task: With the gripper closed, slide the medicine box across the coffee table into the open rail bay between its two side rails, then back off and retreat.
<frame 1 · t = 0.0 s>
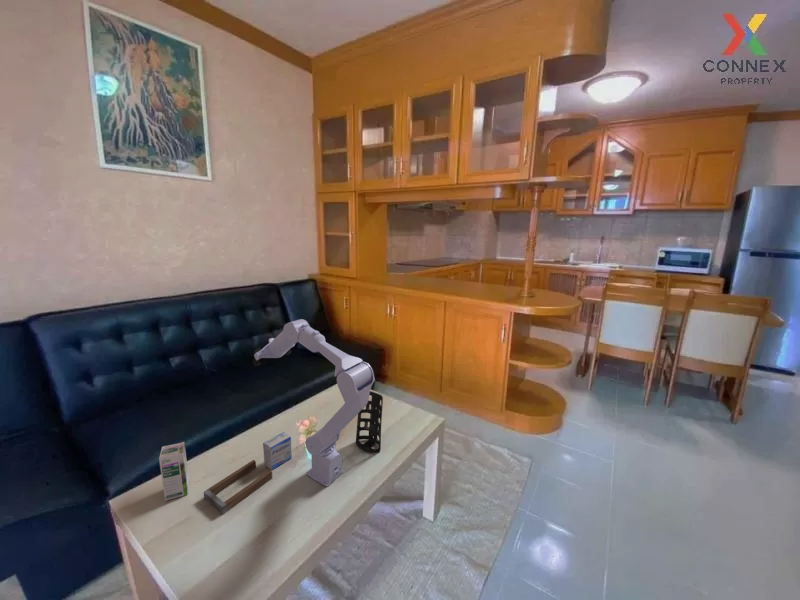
hand: (264, 360, 115), 32 cm above the table, tool tilted 50°, fingers open, 7 cm apart
holder: (369, 444, 123), on the table
medicine box: (278, 462, 113), on the table
open rail bay: (241, 487, 101), on the table
syrup box: (177, 491, 99), on the table
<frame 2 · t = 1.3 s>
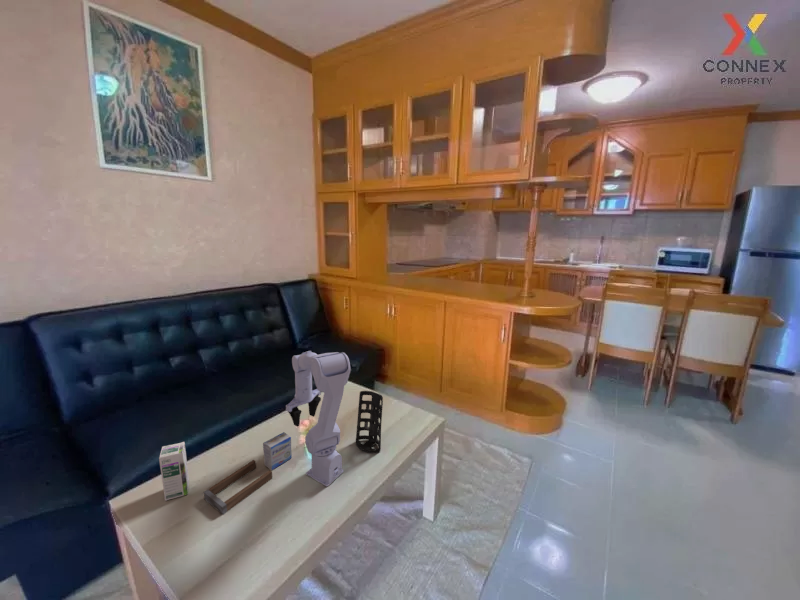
hand: (304, 420, 120), 9 cm above the table, tool pointing down, fingers open, 7 cm apart
nothing on the table moved.
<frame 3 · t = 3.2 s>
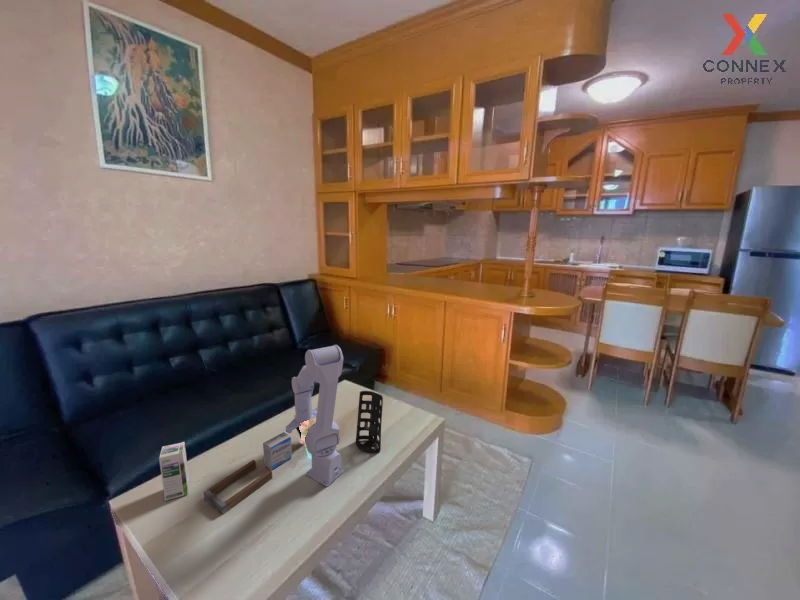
hand: (304, 440, 122), 1 cm above the table, tool pointing down, fingers closed
nothing on the table moved.
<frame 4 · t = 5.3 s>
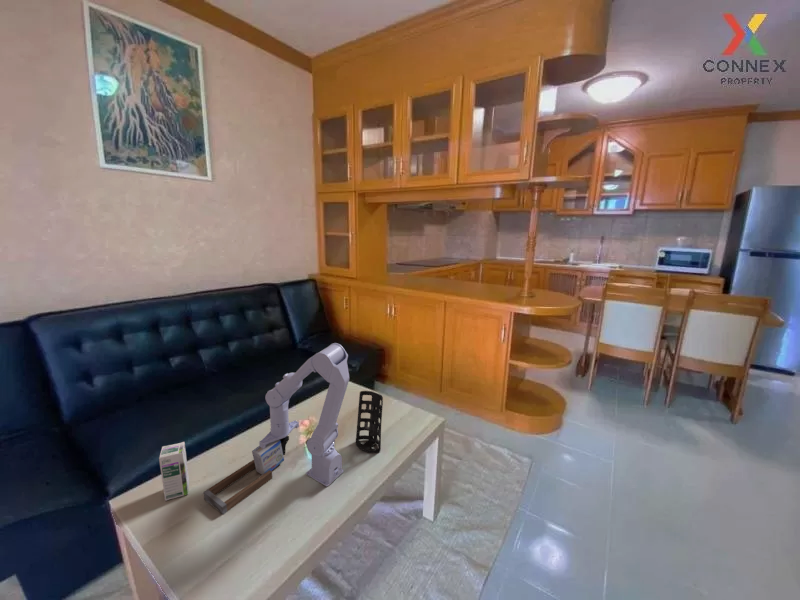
hand: (280, 454, 113), 2 cm above the table, tool pointing down, fingers closed, pressing on medicine box
medicine box: (270, 466, 110), on the table, touching gripper
everything else where it was.
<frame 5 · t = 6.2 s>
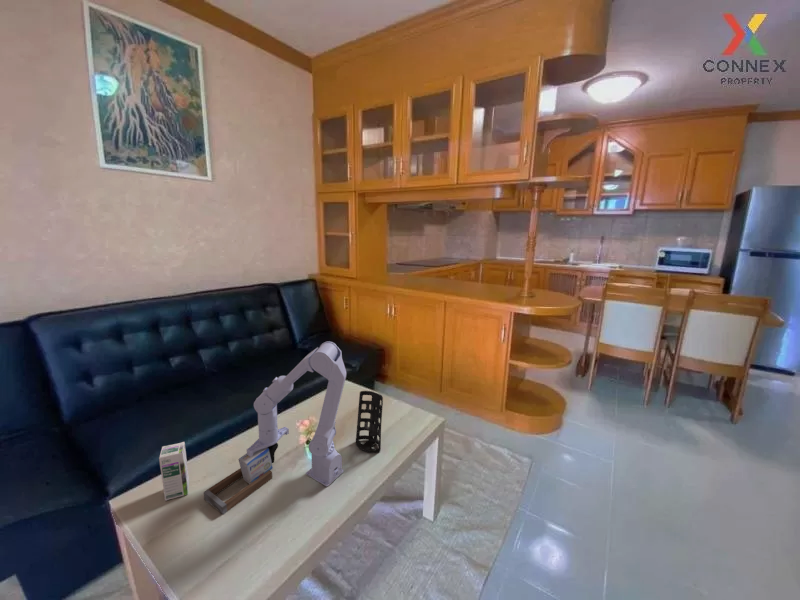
hand: (269, 462, 110), 2 cm above the table, tool pointing down, fingers closed, pressing on medicine box
medicine box: (258, 474, 106), on the table, touching gripper
everything else where it was.
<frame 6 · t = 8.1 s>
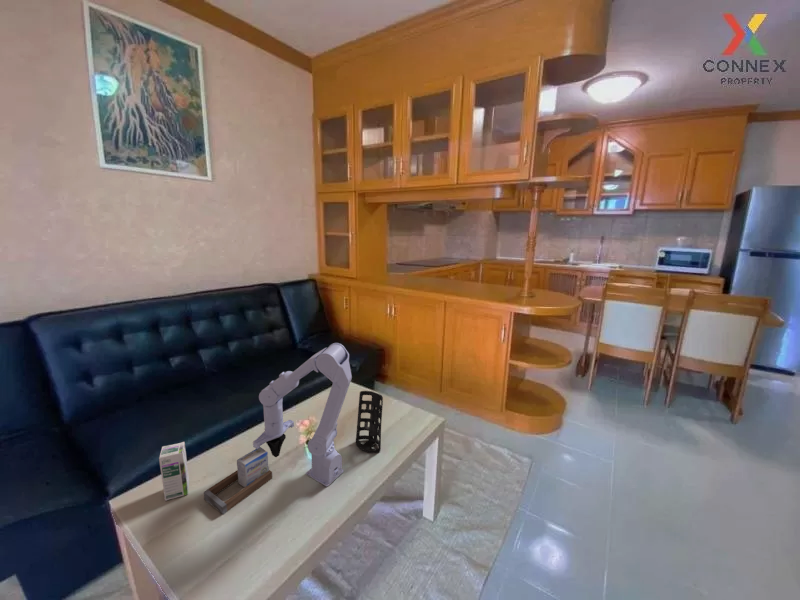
hand: (275, 455, 111), 3 cm above the table, tool pointing down, fingers closed
medicine box: (254, 479, 105), on the table
everything else where it was.
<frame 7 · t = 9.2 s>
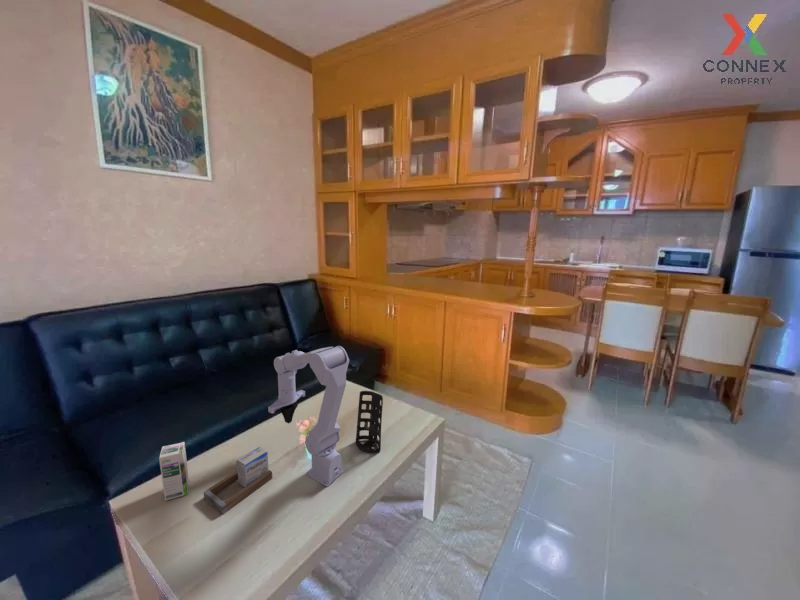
hand: (288, 421, 119), 9 cm above the table, tool pointing down, fingers closed
nothing on the table moved.
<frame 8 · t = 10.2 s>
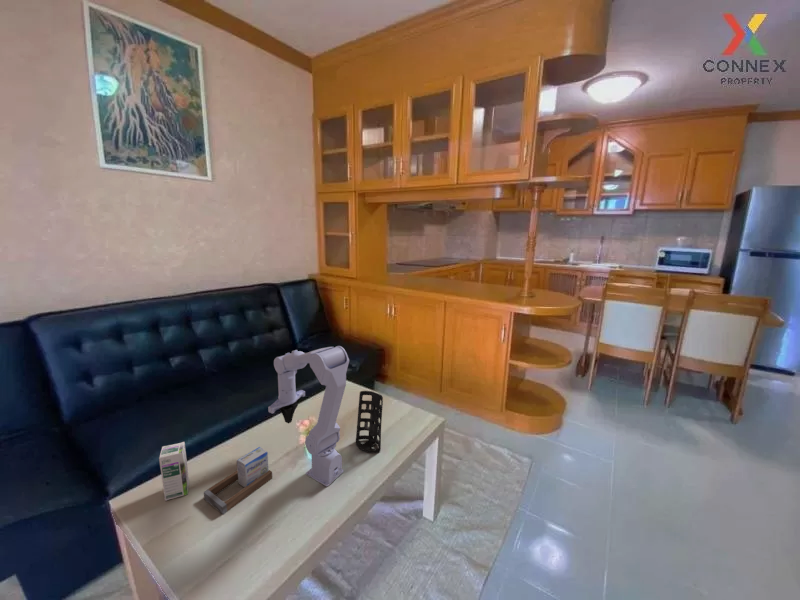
hand: (288, 421, 119), 9 cm above the table, tool pointing down, fingers closed
nothing on the table moved.
at the end: medicine box inside the target area on the open rail bay (4.1 cm from its centre), point 0.0 cm above the open rail bay's base; medicine box tilted 0° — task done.
